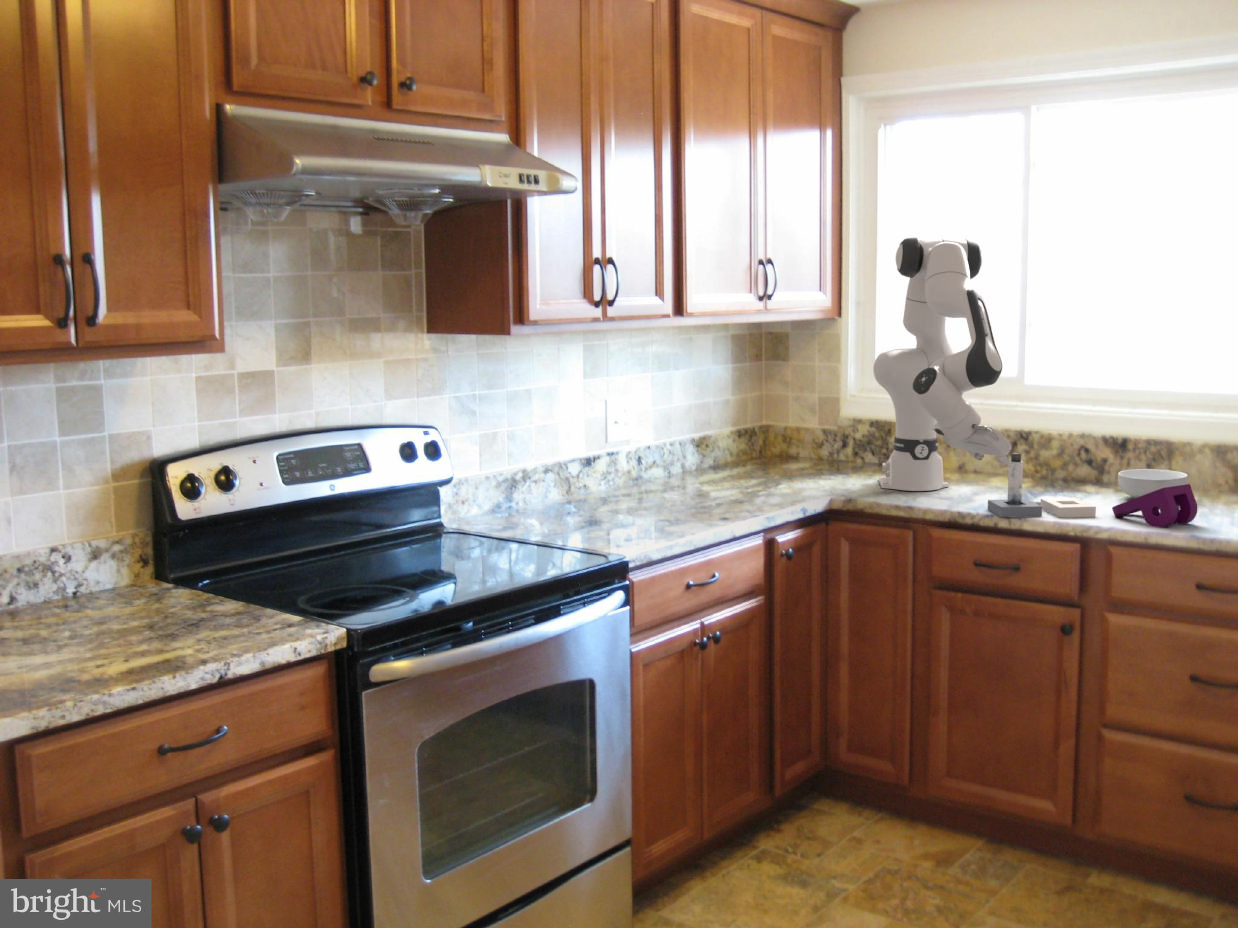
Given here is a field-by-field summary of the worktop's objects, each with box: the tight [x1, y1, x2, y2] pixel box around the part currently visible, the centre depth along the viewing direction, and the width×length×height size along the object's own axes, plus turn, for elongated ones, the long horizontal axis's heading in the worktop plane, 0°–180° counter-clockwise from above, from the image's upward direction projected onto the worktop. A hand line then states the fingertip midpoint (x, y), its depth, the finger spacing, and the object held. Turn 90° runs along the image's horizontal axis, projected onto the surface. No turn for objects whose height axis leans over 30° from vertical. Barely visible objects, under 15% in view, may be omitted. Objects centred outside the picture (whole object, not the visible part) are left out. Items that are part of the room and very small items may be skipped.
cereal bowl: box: [1117, 468, 1189, 499], centre depth 315 cm, size 17×17×7 cm
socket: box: [987, 498, 1043, 518], centre depth 301 cm, size 10×10×2 cm
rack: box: [1039, 497, 1097, 519], centre depth 300 cm, size 12×9×2 cm
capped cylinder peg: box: [1007, 452, 1024, 505], centre depth 300 cm, size 3×3×15 cm
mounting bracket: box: [1111, 483, 1198, 528], centre depth 288 cm, size 10×8×18 cm
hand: (993, 460), depth 296 cm, fingers open, 8 cm apart
